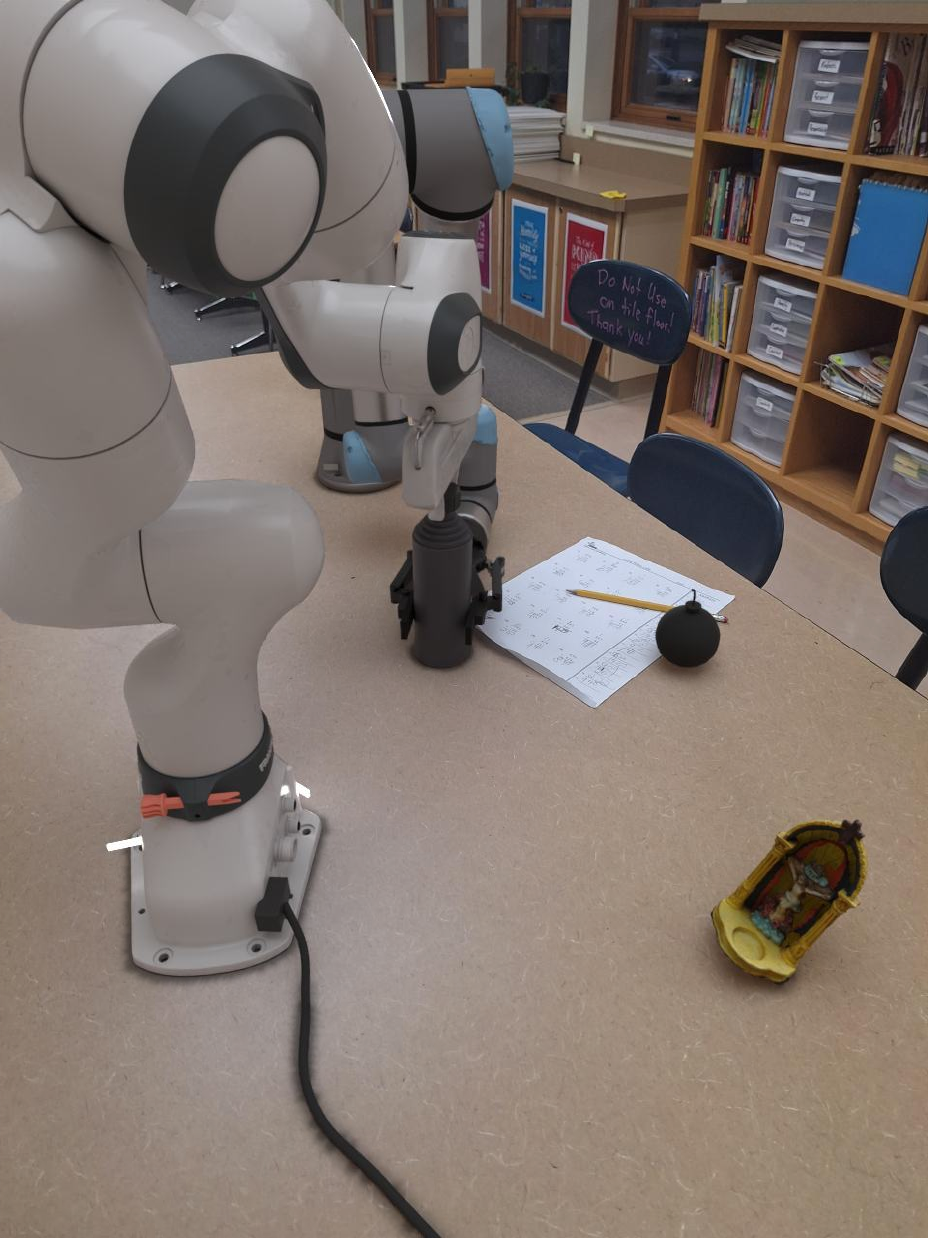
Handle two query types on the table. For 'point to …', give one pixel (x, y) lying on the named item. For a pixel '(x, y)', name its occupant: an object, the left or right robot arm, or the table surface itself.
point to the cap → (452, 497)
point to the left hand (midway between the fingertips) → (443, 506)
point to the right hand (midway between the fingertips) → (435, 633)
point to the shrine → (792, 897)
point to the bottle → (441, 589)
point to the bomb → (688, 635)
